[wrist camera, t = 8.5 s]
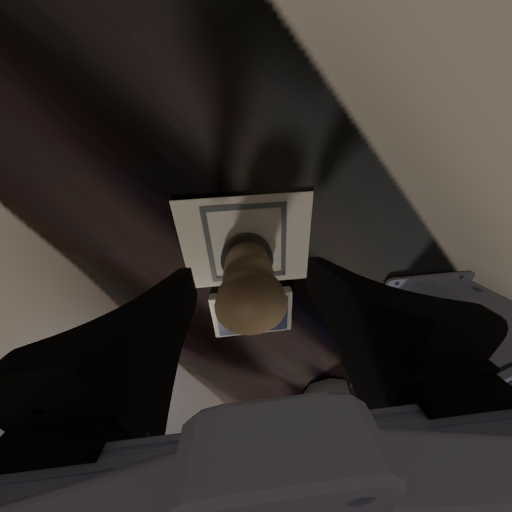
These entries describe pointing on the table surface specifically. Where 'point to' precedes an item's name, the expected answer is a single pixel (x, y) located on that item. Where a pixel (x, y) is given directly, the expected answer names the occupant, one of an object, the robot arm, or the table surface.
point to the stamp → (249, 287)
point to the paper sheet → (244, 220)
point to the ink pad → (223, 332)
